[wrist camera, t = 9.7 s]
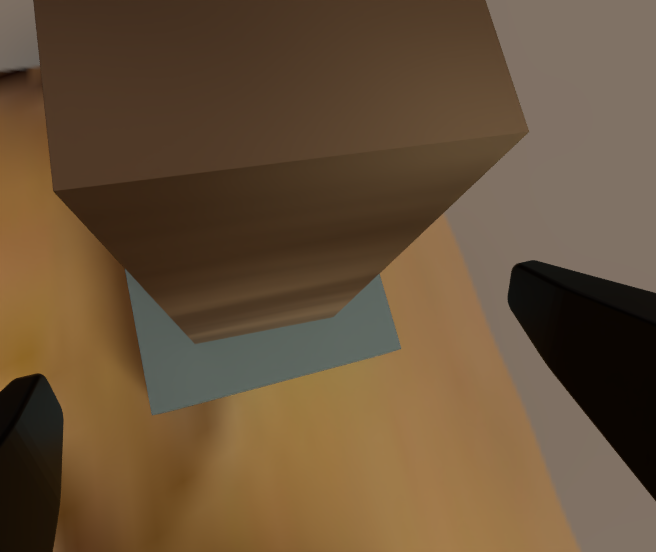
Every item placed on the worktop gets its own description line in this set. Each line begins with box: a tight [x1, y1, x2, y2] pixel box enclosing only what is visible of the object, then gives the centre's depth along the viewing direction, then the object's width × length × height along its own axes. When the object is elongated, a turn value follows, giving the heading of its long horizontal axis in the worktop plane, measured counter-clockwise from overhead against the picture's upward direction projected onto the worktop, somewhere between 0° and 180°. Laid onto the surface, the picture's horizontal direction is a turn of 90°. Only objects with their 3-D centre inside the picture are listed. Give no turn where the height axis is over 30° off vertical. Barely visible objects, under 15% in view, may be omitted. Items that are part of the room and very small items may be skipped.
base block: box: [125, 269, 401, 415], centre depth 19 cm, size 9×9×3 cm
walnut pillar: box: [33, 0, 529, 344], centre depth 12 cm, size 5×5×13 cm
